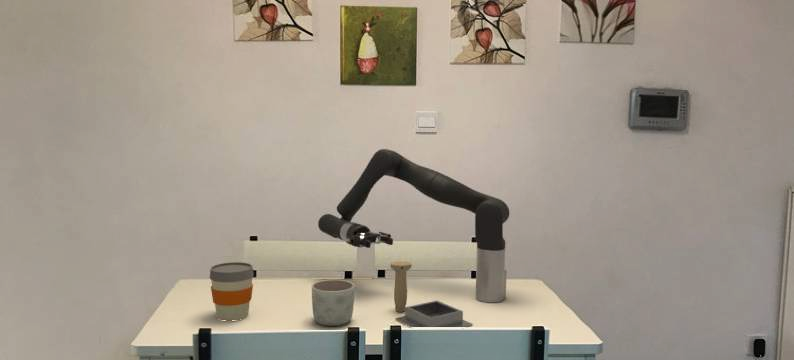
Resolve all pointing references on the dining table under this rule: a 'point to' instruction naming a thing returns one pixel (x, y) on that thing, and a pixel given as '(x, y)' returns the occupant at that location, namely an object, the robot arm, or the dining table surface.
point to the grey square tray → (433, 316)
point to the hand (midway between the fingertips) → (380, 243)
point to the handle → (400, 284)
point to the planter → (332, 302)
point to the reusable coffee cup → (231, 289)
